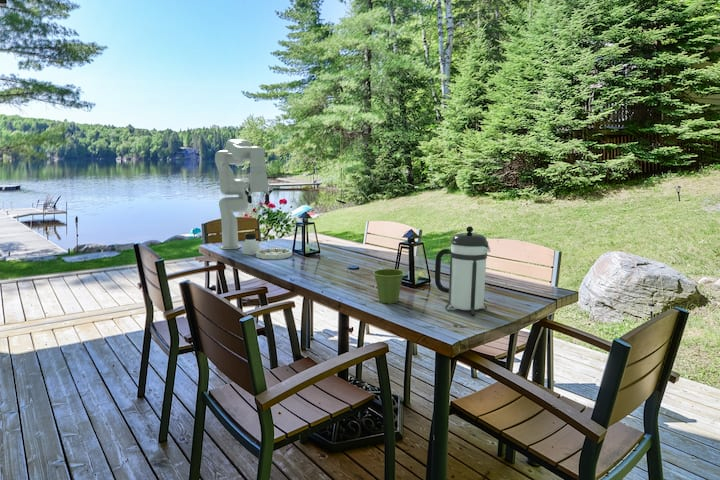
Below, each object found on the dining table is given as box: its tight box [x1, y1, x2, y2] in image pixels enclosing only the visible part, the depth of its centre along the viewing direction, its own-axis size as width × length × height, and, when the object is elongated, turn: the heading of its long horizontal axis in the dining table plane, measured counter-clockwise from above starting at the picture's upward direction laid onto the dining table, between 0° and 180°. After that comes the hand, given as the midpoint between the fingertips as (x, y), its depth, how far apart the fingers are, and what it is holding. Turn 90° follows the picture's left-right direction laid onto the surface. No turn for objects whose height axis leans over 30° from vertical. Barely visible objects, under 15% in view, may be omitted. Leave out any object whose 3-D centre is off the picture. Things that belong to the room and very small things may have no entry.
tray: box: [255, 247, 293, 260], centre depth 248 cm, size 20×20×3 cm
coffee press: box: [434, 225, 491, 317], centre depth 153 cm, size 17×16×30 cm
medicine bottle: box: [241, 232, 260, 256], centre depth 254 cm, size 7×7×12 cm
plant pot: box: [372, 268, 406, 304], centre depth 163 cm, size 12×12×11 cm
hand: (258, 202), depth 232 cm, fingers open, 9 cm apart
